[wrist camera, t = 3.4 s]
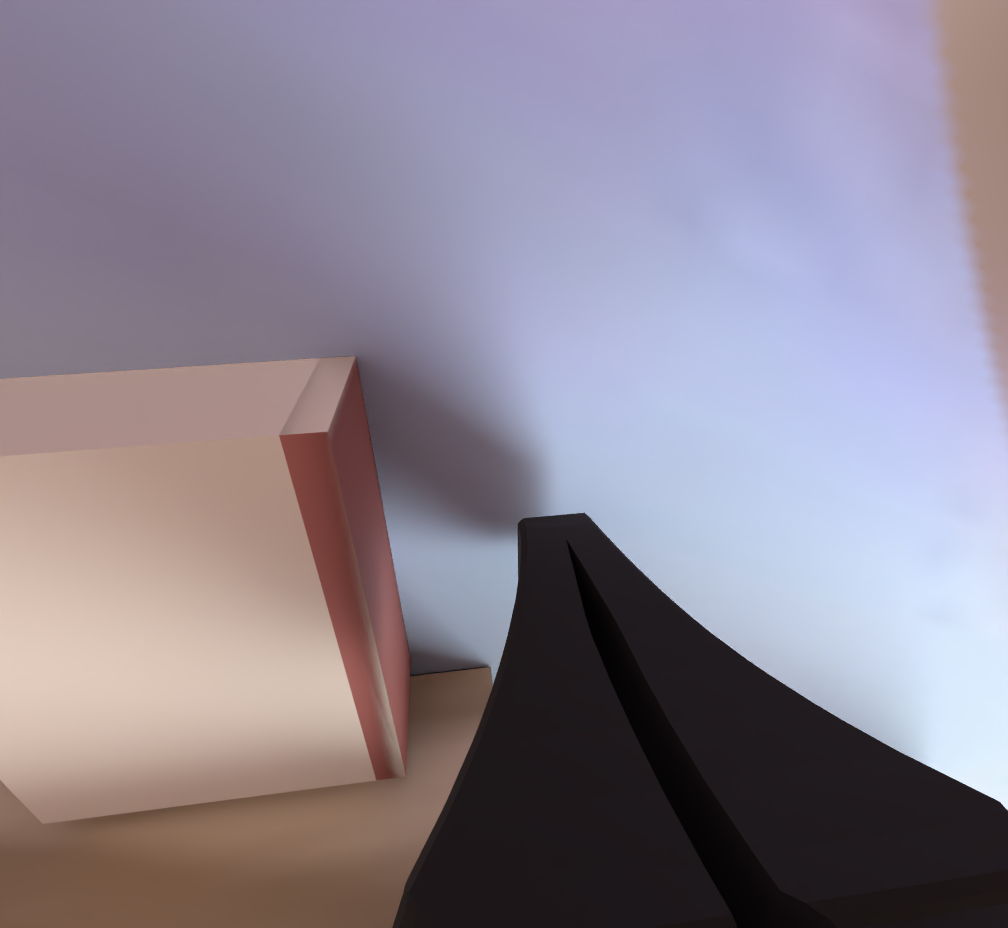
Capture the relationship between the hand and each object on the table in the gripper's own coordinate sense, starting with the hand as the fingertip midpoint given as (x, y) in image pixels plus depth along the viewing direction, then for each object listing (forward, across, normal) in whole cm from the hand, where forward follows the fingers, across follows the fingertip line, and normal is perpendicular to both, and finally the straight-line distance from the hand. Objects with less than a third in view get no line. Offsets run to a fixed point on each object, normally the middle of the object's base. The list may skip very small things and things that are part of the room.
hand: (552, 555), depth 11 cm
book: (+1, +7, 0) cm, 7 cm away
